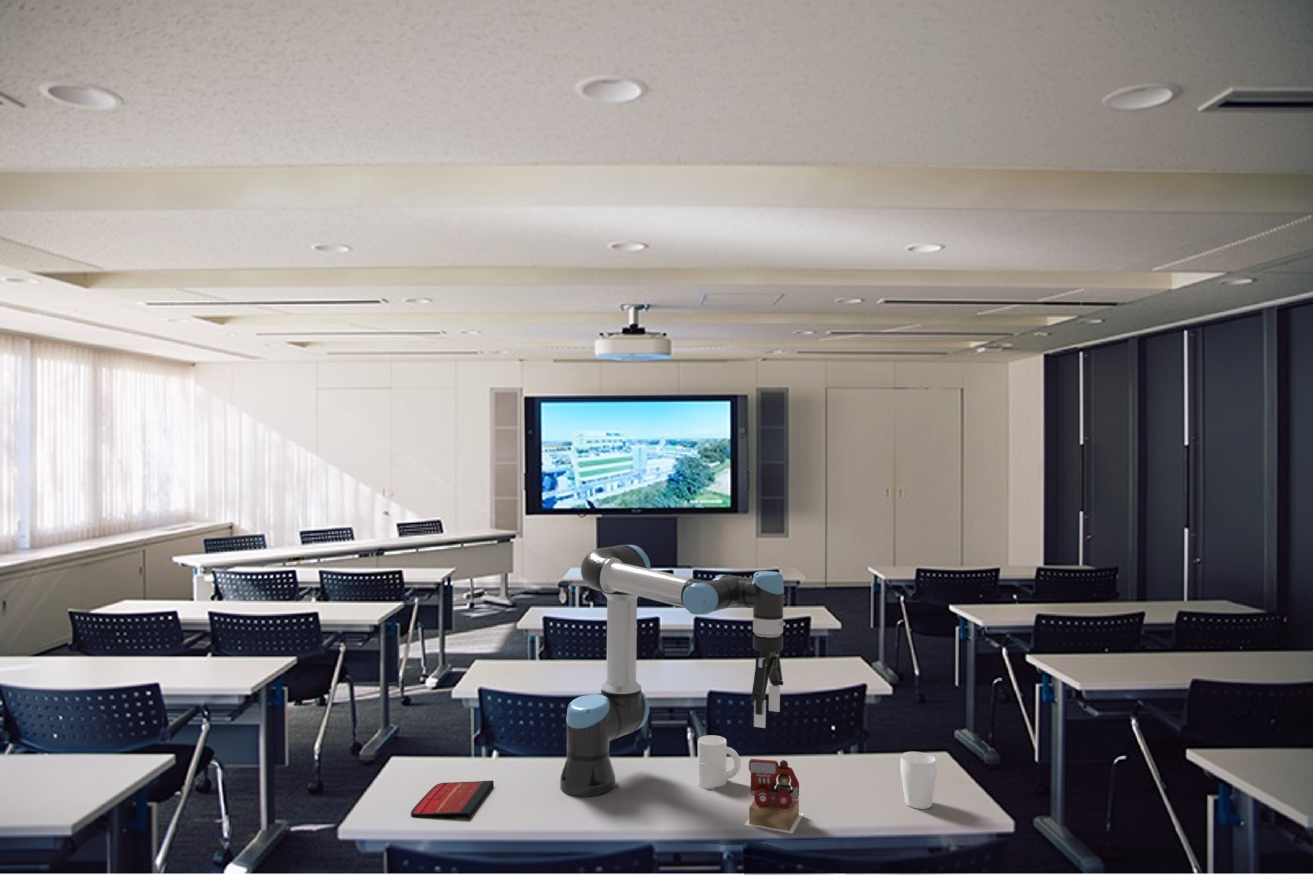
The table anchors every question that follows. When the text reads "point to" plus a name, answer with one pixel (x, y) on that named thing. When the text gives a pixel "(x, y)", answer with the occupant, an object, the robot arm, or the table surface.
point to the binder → (452, 800)
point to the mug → (715, 762)
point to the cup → (918, 779)
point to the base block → (774, 815)
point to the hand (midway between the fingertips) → (767, 718)
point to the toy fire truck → (772, 782)
